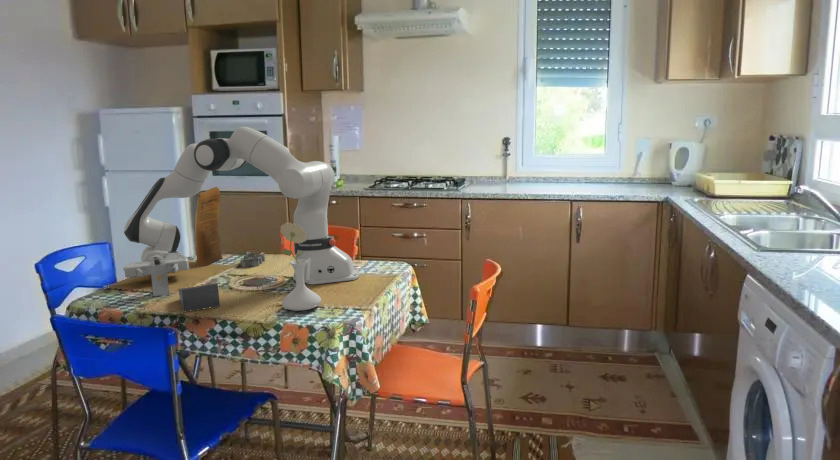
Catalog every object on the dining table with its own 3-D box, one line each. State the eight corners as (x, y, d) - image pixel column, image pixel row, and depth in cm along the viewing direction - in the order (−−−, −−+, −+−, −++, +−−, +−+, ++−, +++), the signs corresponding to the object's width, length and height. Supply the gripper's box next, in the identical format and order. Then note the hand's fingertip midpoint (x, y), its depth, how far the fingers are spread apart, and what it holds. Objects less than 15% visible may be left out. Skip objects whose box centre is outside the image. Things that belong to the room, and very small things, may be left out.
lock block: (153, 292, 203) (148, 259, 201) (168, 290, 205) (164, 257, 202) (154, 297, 198) (149, 262, 196) (169, 295, 200) (165, 260, 198)
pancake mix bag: (232, 256, 250) (225, 186, 244) (206, 268, 231) (198, 193, 226) (216, 255, 251) (209, 186, 245) (189, 268, 233) (181, 193, 227)
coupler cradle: (179, 299, 194) (177, 278, 193) (213, 294, 198) (211, 273, 197) (184, 312, 182) (181, 289, 181) (219, 306, 186) (217, 284, 185)
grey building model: (249, 260, 243) (248, 250, 242) (268, 260, 242) (267, 250, 241) (238, 267, 232) (237, 256, 231) (257, 267, 231) (256, 256, 230)
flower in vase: (330, 306, 183) (324, 221, 178) (298, 316, 175) (291, 228, 170) (302, 298, 192) (296, 217, 187) (270, 308, 183) (263, 223, 178)
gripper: (122, 258, 215) (122, 267, 203) (185, 250, 224) (189, 258, 211) (124, 276, 216) (125, 286, 204) (187, 267, 225) (191, 276, 213)
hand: (158, 271), depth 208 cm, fingers open, 8 cm apart
